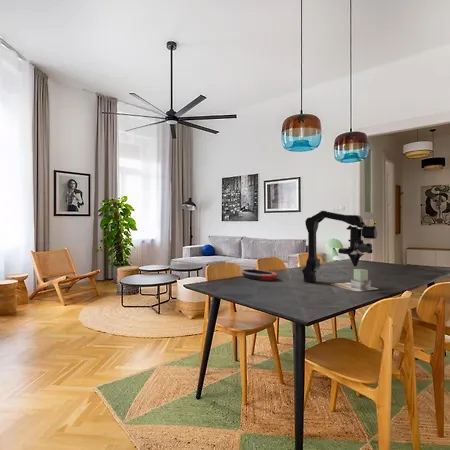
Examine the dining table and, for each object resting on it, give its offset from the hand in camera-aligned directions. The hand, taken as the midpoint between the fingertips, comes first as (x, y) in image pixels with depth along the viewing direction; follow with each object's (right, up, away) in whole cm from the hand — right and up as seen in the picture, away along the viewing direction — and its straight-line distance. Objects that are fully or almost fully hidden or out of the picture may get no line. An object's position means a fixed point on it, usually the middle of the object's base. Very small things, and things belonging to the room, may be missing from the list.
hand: (355, 266), depth 174 cm
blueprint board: (0, -13, +3) cm, 13 cm away
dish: (-49, -13, +36) cm, 62 cm away
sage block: (+2, -7, -2) cm, 8 cm away
